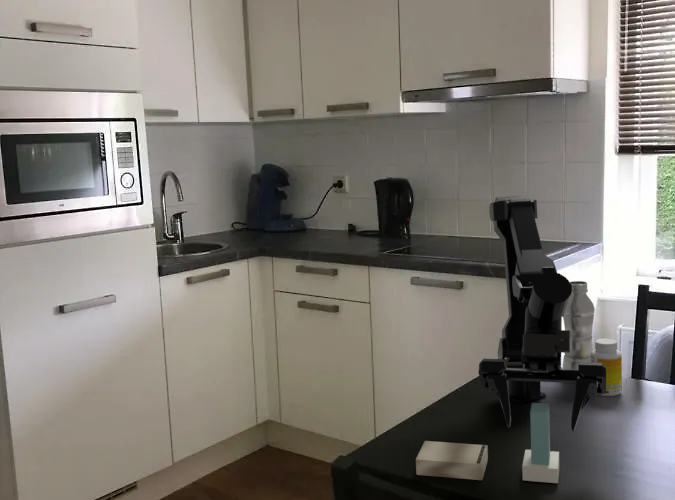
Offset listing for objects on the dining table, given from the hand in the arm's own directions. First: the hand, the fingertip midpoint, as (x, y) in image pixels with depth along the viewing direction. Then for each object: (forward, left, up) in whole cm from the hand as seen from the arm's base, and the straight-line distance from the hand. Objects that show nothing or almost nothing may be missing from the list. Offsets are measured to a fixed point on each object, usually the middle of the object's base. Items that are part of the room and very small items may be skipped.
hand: (540, 428), depth 111 cm
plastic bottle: (-28, +37, -8) cm, 47 cm away
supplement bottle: (-19, +35, -8) cm, 40 cm away
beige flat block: (-10, -9, -7) cm, 15 cm away
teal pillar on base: (0, 0, -7) cm, 7 cm away
